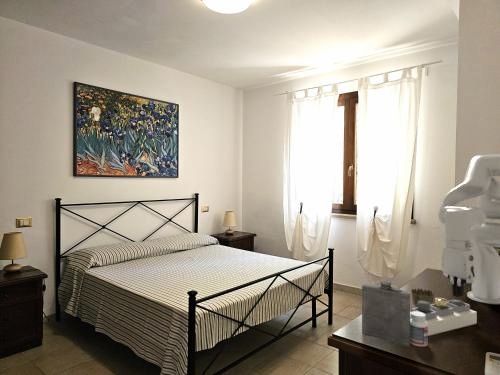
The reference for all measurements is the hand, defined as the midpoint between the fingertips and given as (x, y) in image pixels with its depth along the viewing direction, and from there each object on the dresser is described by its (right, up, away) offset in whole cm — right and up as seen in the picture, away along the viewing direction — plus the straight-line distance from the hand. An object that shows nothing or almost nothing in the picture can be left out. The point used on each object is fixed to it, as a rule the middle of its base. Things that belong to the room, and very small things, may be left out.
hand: (458, 295), depth 117 cm
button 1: (-15, -3, -6) cm, 17 cm away
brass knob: (-8, -3, -3) cm, 9 cm away
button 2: (-1, -5, 0) cm, 5 cm away
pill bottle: (-22, -9, -16) cm, 29 cm away
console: (-8, -9, -3) cm, 12 cm away
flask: (-31, -9, -13) cm, 35 cm away
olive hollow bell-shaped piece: (-9, -9, +6) cm, 14 cm away
